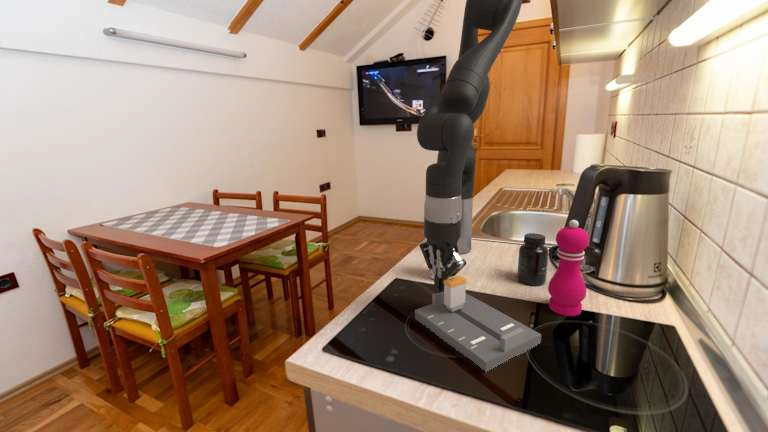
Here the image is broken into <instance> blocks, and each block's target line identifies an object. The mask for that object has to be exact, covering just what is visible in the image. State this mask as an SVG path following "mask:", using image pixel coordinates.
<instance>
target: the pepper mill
mask: <svg viewBox="0 0 768 432" xmlns="http://www.w3.org/2000/svg"><path fill="white" fill-rule="evenodd" d="M579 225H580V224H579V221H578V220H576V219H572V220H569V222H568V226H566V227H562V228H561V229H560V230H558V231H557V233H556V236H555V242H556V244H557V246H558V247H557V250H556V251H557V253H556V255H557V257H558V260H559V261H558V267H557V269H556V271H555V273H554V274H553V276H552V277H551V278H550V280H549V283H548V287H547V290H548V291H547V292H548V294H549V296H551V297H550V298H549V301H548V307H549V309H550V310H551V311H552V312H553V313H555V314H558V315H562V316H565V317H577V316H580V315H581V313H582V309H583V303H582V302H583V301H584V300H585V299H586V297H587V288H586V287H587V286H586V283H585V281H584V279H583V276H582V272H581V264H582V260H584V259H585V254H586V253H585V249H587V247H588V246H589V244H590V238H589V235H588V233H587V231H585V230H584V229H583V228H581V227H579ZM576 315H577V316H576Z"/></svg>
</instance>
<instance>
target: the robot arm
mask: <svg viewBox="0 0 768 432" xmlns="http://www.w3.org/2000/svg"><path fill="white" fill-rule="evenodd" d="M522 4H523V0H466V1H465V6H464V14H463V20H462V27H461V28H462V30H461V36H460V45H459V51H458V52H459V53H458V58H457V60H455V63H454V64H453V66H452V67H451V69H450V72H449V74H448V76H447V78H446V81H445V83H444V86H443V89H442V91H441V92H440V93H439V94H438V95H437V96H436V98H434V100H433V102H432V103H431V104H430V105H429V106H428V107H427V109H426V110H425V111H424V113H423V115H422V116H421V118H420V119H419V122H418V125H417V128H416V138H417V139H416V140H417V142H418V144H419V146H420V147H421V148H422V149H425V150H427V151H434V152H438V153H437V157H436V162H435V163H432V164H430V165H428V166H427V168H426V170H425V198H424V204H423V206H424V207H423V210H424V211H423V212H424V213H423V235H424V238H425V239H426V241H425V242H422V243H420V244H419V247H420V251H421V253H422V256H423V259H424V261H425V264H426V266H427V268H428V270H429V269H432V270H433V274H434V279H433V287H434V290H435V291H436V292H437V293H438V292H439V293H440V292H443V291H444V280H446V279H448V278H449V277H452V276H454V277H455V276H456V275H457V274H458V273H460V271H461V270H462V269H463V268H464V267H465V266H467V260H466V259H463V258H462V259H461V257H460V256H459V255H463V254H467V253H469V252H471V251H472V240H473V236H472V235H473V232H472V231H473V206H474V205H473V203H474V202H473V201H474V199H473V197H474V196H473V194H474V187H475V177H476V176H475V175H476V163H477V162H476V161H477V157H476V156H477V154H476V149H475V146H473V144H472V142H473V141H474V140H473V139H474V134H475V127H474V124H476V122H477V120H479V118H480V117H481V116H482V114H483V113H484V110H485V107H486V105H487V101H488V98H489V94H490V90H491V89H490V88H491V84H490V79H489V73H490V71H491V69H492V66H493V65H494V63H495V61H496V59H497V58H498V56H499V55H500V53H501V51H502V49H503V47H504V45H505V44H506V42H507V40H508V38H509V36H510V34H511V32H512V31H513V28H514V27H515V24H516V23H517V19H518V17H519V14H520V11H521V7H522ZM479 30H482V31H483V30H484V31H489V32H490V33H489V34H488V35H487V36H486V37H485V38H483V39H482V40H481V41H479Z"/></svg>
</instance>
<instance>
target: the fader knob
mask: <svg viewBox="0 0 768 432" xmlns="http://www.w3.org/2000/svg"><path fill="white" fill-rule="evenodd" d="M466 283H467V278H465V277H464V276H461V275H457V276H456V275H455V276H454V277H452V278H449V279H446V280H444V304H445V305H446V308H447V309H449V310H450V311H452V312H454V311H456V310H459V309H461V308H463V303H465V293H467V292H466V290H467V289H466V288H467V287H466Z"/></svg>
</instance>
